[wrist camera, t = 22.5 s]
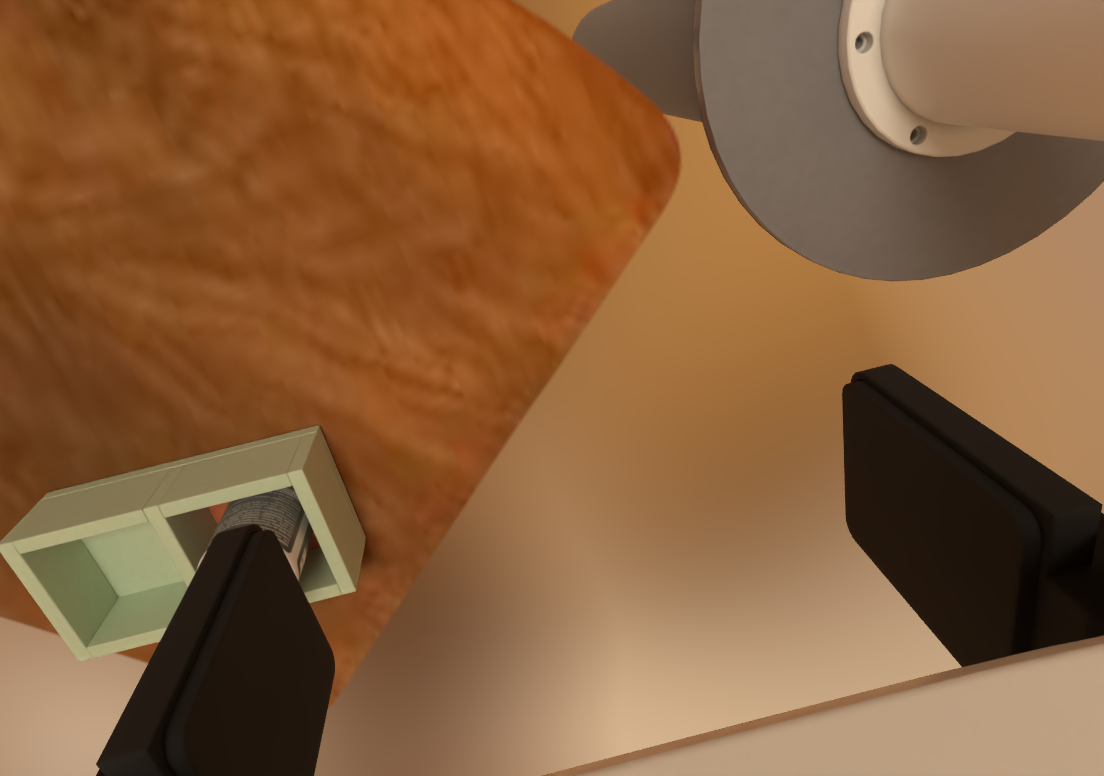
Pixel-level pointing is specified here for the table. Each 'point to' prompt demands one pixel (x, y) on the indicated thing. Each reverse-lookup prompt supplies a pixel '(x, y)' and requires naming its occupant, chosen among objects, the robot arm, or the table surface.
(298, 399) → the table surface
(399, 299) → the table surface
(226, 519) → the pill bottle
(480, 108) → the table surface
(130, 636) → the rack
